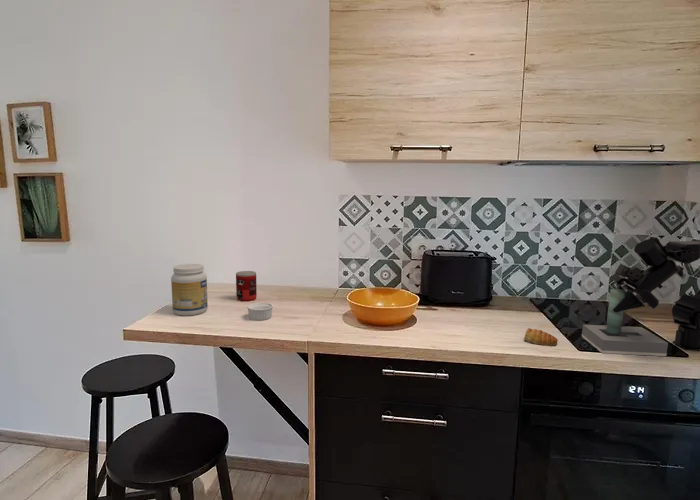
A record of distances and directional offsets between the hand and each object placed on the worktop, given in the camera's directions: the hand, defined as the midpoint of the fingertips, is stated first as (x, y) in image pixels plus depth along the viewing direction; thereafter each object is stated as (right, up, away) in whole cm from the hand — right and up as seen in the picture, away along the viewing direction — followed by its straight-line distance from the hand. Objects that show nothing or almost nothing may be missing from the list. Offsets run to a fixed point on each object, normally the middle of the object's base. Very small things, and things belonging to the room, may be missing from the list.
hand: (611, 309), depth 137 cm
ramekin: (-111, -6, +23) cm, 114 cm away
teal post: (+1, -7, +1) cm, 7 cm away
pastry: (-20, -11, +4) cm, 24 cm away
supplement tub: (-138, -5, +28) cm, 141 cm away
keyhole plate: (+4, -11, +1) cm, 12 cm away
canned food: (-122, -2, +45) cm, 130 cm away
